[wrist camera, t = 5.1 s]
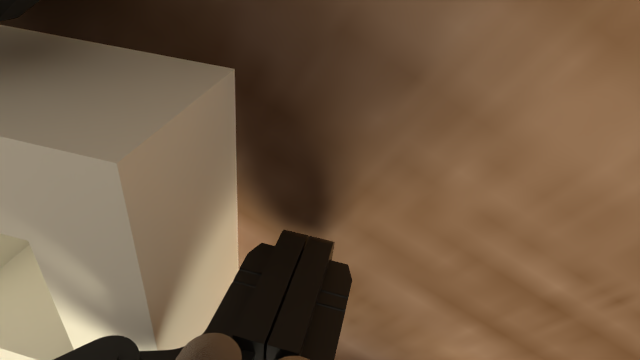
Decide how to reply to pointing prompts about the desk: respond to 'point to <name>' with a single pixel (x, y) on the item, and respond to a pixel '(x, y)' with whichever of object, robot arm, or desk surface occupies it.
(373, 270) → the desk surface
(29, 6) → the microphone
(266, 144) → the desk surface
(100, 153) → the socket block
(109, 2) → the desk surface
